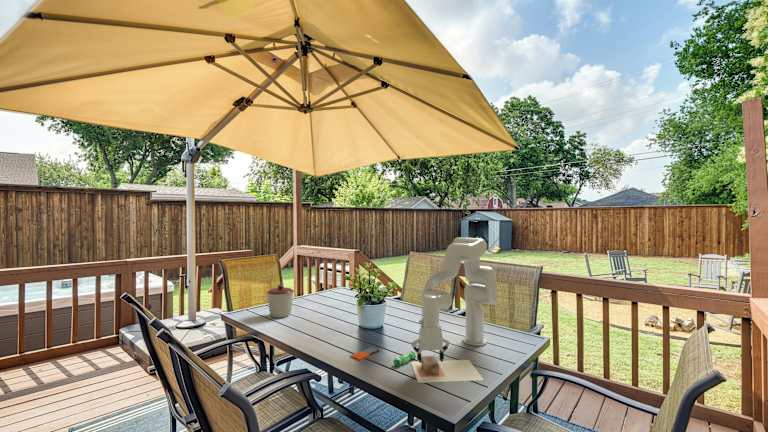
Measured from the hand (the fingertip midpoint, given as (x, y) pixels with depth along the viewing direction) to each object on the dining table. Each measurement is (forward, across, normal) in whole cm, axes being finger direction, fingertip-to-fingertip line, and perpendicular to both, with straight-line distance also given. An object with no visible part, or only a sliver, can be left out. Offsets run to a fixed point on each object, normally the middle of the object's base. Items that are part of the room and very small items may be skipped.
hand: (430, 361), depth 155 cm
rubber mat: (+5, +7, 0) cm, 8 cm away
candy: (+5, -10, +10) cm, 15 cm away
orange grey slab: (+5, -28, +21) cm, 36 cm away
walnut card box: (+4, 0, 0) cm, 4 cm away
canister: (+5, -83, +88) cm, 121 cm away
